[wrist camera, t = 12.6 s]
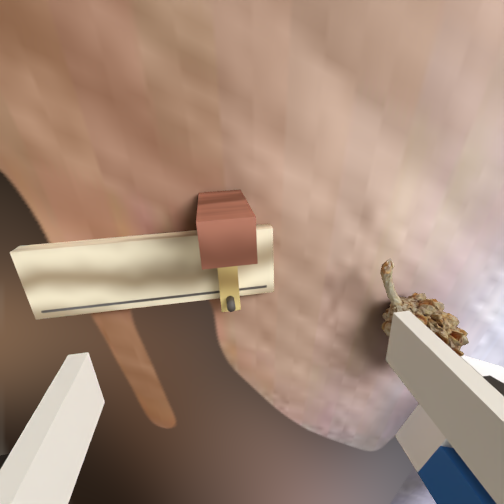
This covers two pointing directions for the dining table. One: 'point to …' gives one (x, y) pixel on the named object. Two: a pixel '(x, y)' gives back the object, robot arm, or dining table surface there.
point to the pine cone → (422, 313)
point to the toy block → (444, 453)
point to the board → (130, 273)
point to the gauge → (226, 240)
